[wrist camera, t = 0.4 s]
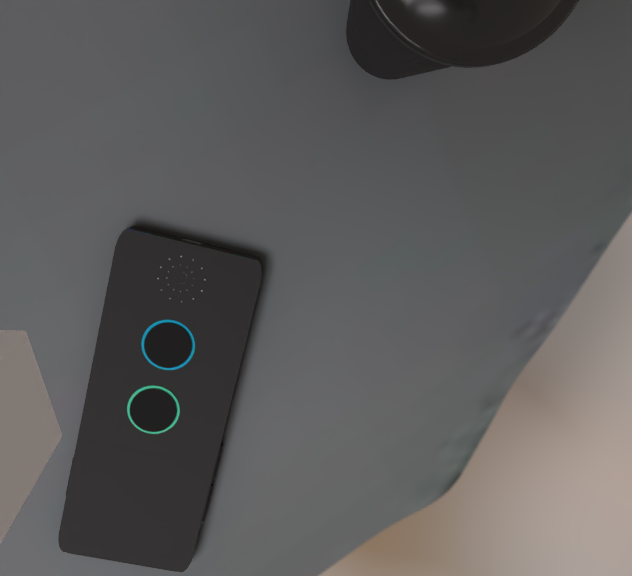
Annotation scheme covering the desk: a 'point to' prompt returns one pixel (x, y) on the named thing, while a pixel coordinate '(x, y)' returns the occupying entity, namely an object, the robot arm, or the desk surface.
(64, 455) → the desk surface
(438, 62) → the drinking cup
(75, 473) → the smart home device
